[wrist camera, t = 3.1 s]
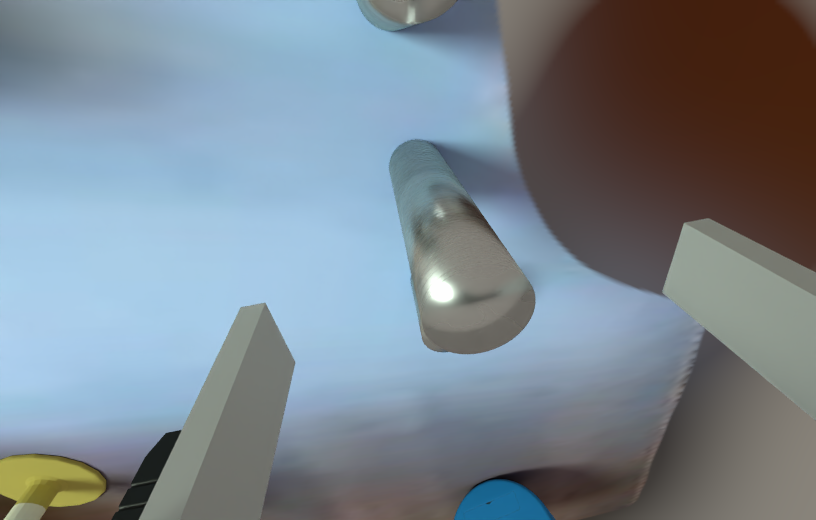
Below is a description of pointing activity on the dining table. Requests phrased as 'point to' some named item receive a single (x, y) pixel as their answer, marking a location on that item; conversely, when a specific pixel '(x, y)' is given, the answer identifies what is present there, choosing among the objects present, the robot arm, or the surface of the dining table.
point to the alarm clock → (502, 503)
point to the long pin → (455, 257)
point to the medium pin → (402, 12)
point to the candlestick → (47, 484)
